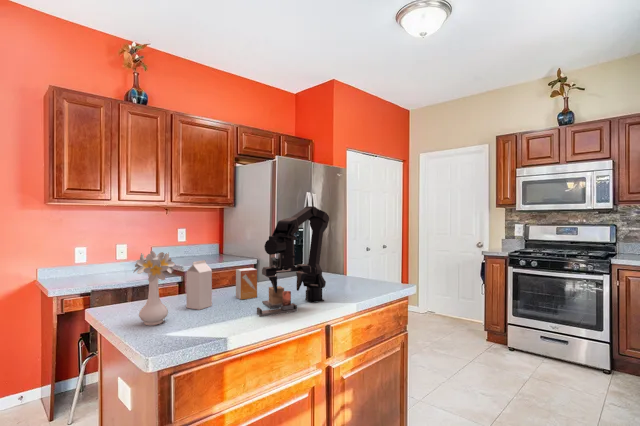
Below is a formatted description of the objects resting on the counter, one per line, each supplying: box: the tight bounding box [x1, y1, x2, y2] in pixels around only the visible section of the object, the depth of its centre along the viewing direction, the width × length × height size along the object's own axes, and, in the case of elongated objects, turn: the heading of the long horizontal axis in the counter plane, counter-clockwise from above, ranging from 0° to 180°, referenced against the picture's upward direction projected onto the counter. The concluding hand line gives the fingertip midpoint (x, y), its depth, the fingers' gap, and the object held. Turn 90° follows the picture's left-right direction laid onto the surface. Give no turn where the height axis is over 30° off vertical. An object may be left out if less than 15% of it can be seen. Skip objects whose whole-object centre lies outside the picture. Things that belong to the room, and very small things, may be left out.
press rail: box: [256, 302, 298, 318], centre depth 139 cm, size 15×4×2 cm, turn 117°
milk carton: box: [185, 259, 213, 311], centre depth 148 cm, size 7×7×19 cm
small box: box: [235, 267, 258, 300], centre depth 165 cm, size 8×6×13 cm
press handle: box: [279, 290, 293, 310], centre depth 141 cm, size 4×4×6 cm
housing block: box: [268, 285, 285, 304], centre depth 152 cm, size 5×5×6 cm
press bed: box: [262, 299, 283, 310], centre depth 152 cm, size 9×10×1 cm
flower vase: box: [133, 250, 176, 326], centre depth 127 cm, size 13×18×25 cm
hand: (286, 291), depth 141 cm, fingers open, 9 cm apart
